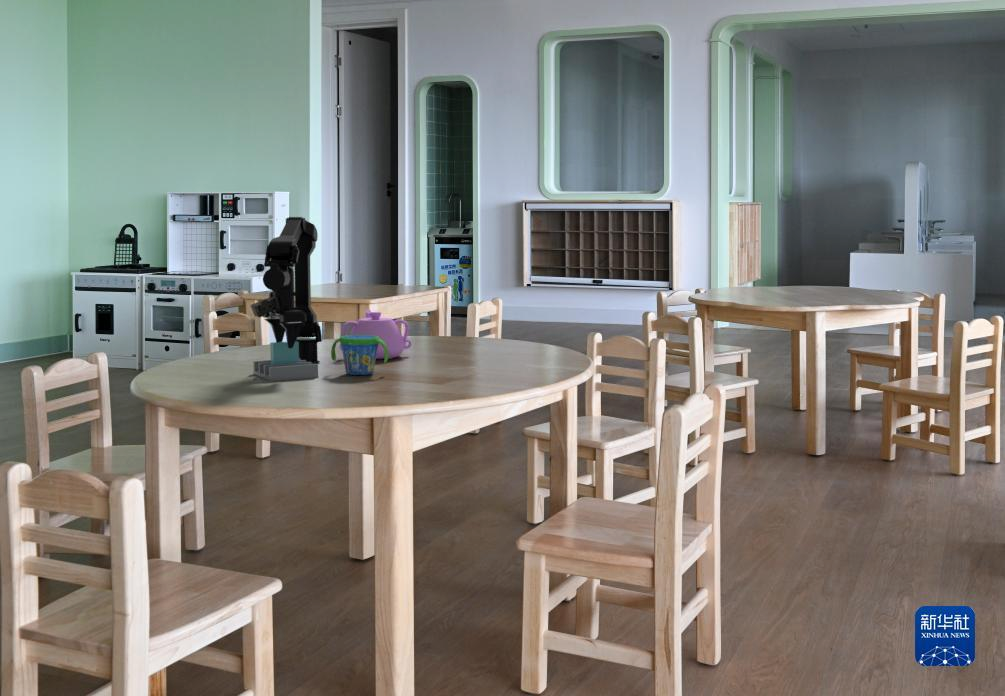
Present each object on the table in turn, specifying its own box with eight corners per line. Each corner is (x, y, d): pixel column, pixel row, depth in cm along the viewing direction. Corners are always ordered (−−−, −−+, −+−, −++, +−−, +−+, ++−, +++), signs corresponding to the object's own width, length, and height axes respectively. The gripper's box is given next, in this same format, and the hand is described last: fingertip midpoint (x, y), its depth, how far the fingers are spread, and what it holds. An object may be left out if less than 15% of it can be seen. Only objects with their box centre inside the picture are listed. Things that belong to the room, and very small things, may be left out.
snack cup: (394, 372, 297) (393, 335, 296) (378, 378, 287) (378, 339, 286) (342, 370, 302) (341, 333, 301) (325, 375, 292) (324, 337, 291)
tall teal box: (296, 370, 294) (295, 341, 293) (299, 371, 292) (298, 342, 291) (270, 372, 291) (270, 342, 290) (273, 373, 289) (273, 343, 288)
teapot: (401, 351, 345) (401, 307, 343) (418, 359, 324) (417, 313, 323) (332, 353, 338) (331, 309, 336) (345, 362, 317) (344, 315, 316)
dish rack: (299, 370, 301) (299, 358, 301) (318, 377, 288) (318, 364, 288) (253, 374, 295) (253, 361, 294) (270, 381, 282) (270, 367, 282)
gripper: (243, 287, 293) (244, 344, 295) (264, 291, 277) (266, 352, 278) (283, 285, 298) (284, 342, 300) (306, 289, 282) (307, 349, 284)
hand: (284, 346), depth 290 cm, fingers open, 9 cm apart
